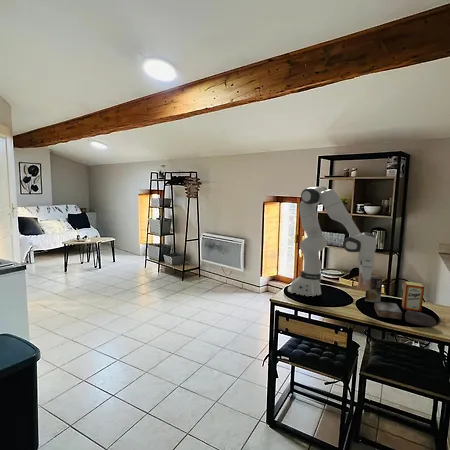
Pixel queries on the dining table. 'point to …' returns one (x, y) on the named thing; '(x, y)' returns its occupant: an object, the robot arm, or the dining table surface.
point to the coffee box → (374, 289)
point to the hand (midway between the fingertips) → (363, 282)
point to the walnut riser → (387, 310)
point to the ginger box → (413, 296)
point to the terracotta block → (360, 285)
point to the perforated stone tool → (419, 318)
